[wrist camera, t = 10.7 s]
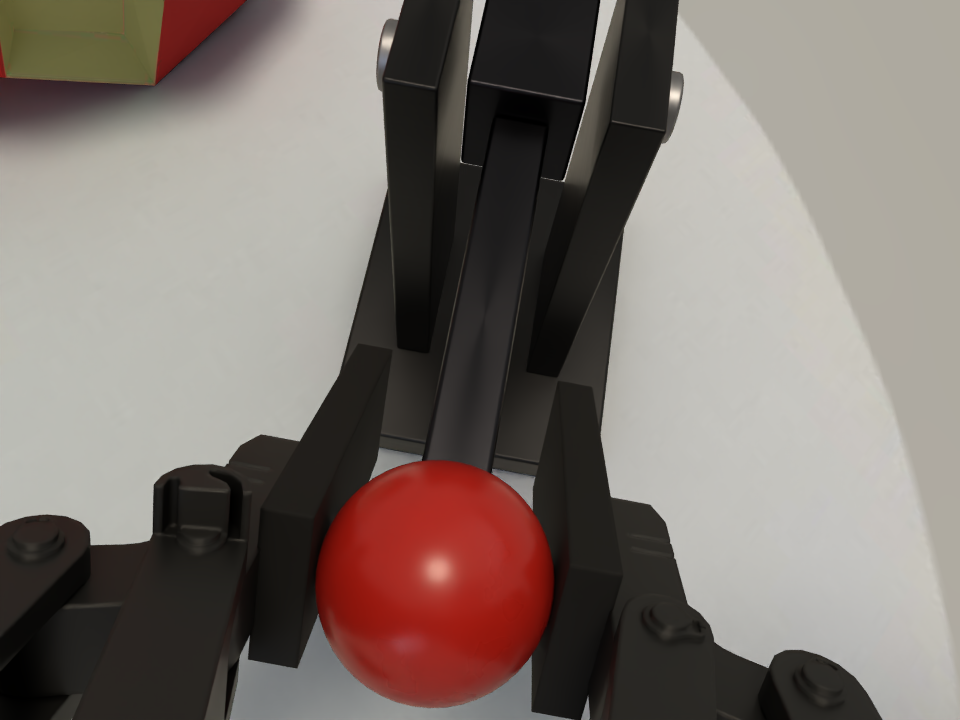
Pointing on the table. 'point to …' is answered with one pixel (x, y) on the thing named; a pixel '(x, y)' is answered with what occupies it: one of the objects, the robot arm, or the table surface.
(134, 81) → the red faceted polyhedron
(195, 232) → the table surface
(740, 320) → the table surface
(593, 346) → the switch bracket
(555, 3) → the power lever
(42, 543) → the robot arm
